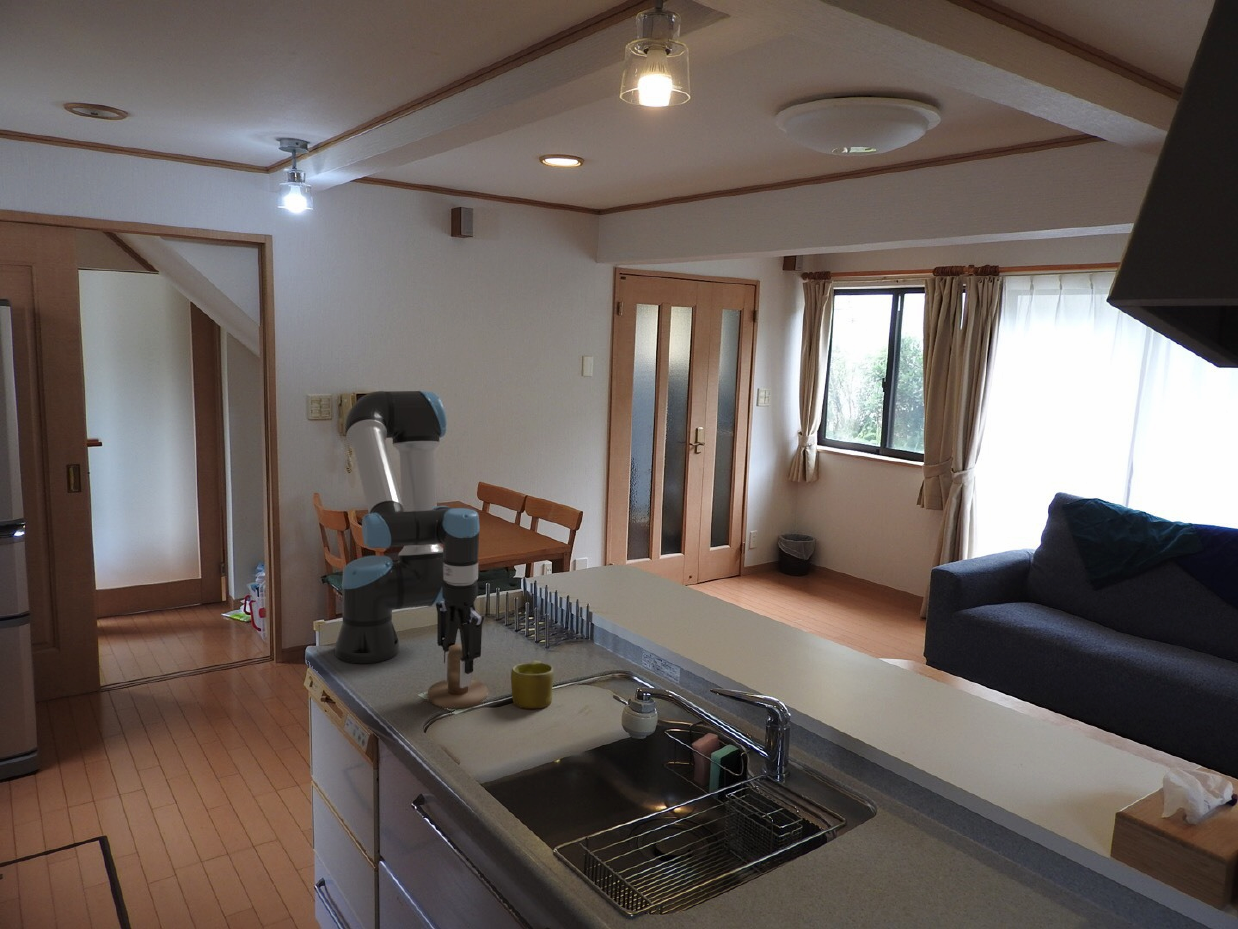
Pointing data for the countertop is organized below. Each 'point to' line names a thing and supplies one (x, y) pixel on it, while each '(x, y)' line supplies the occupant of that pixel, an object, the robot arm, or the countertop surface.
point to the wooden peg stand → (456, 686)
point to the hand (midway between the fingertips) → (458, 682)
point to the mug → (532, 685)
